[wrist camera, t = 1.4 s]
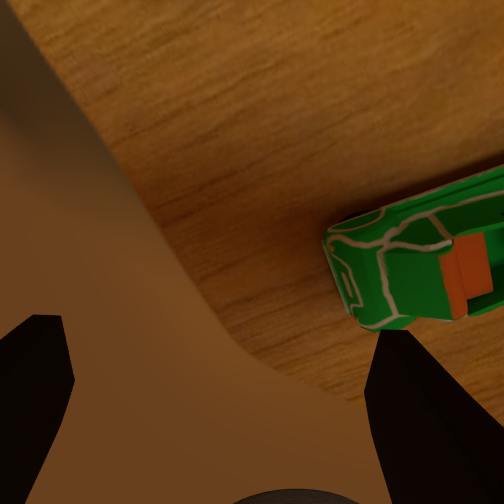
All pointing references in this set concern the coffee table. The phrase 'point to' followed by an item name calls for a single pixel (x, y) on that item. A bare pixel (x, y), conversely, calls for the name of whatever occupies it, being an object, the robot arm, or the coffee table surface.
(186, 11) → the coffee table surface
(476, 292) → the toy car
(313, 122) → the coffee table surface
